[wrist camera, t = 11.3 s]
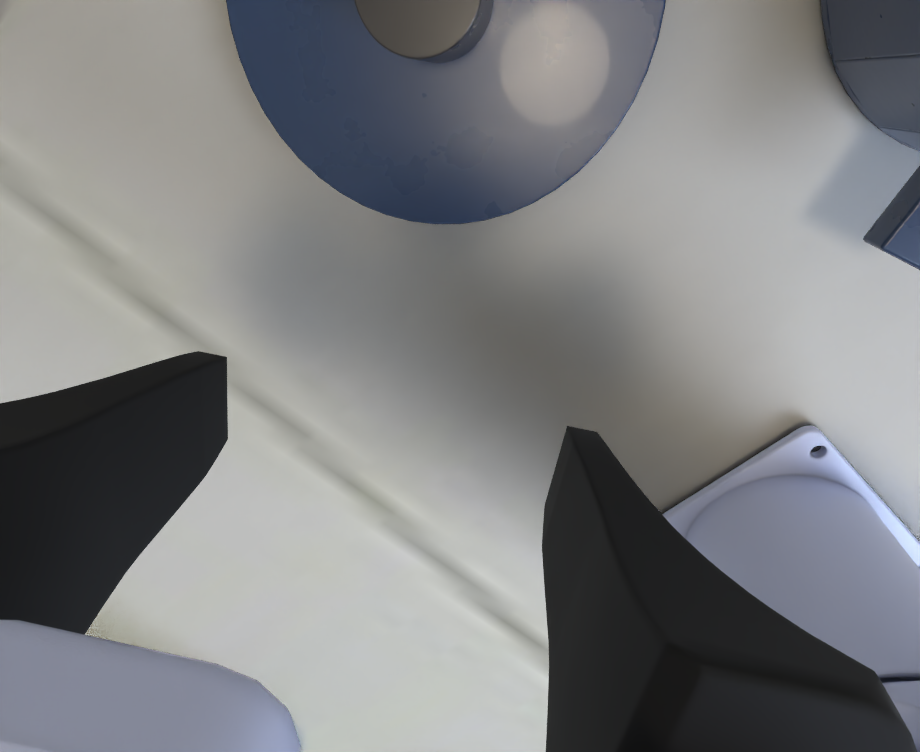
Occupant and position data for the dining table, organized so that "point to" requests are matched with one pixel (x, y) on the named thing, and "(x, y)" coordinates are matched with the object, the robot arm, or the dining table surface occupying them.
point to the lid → (445, 94)
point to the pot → (883, 96)
